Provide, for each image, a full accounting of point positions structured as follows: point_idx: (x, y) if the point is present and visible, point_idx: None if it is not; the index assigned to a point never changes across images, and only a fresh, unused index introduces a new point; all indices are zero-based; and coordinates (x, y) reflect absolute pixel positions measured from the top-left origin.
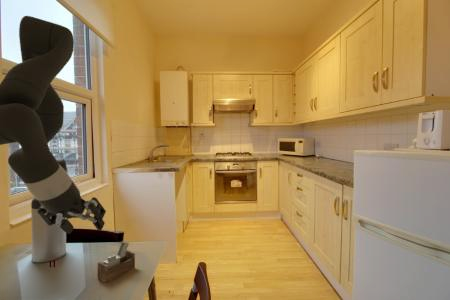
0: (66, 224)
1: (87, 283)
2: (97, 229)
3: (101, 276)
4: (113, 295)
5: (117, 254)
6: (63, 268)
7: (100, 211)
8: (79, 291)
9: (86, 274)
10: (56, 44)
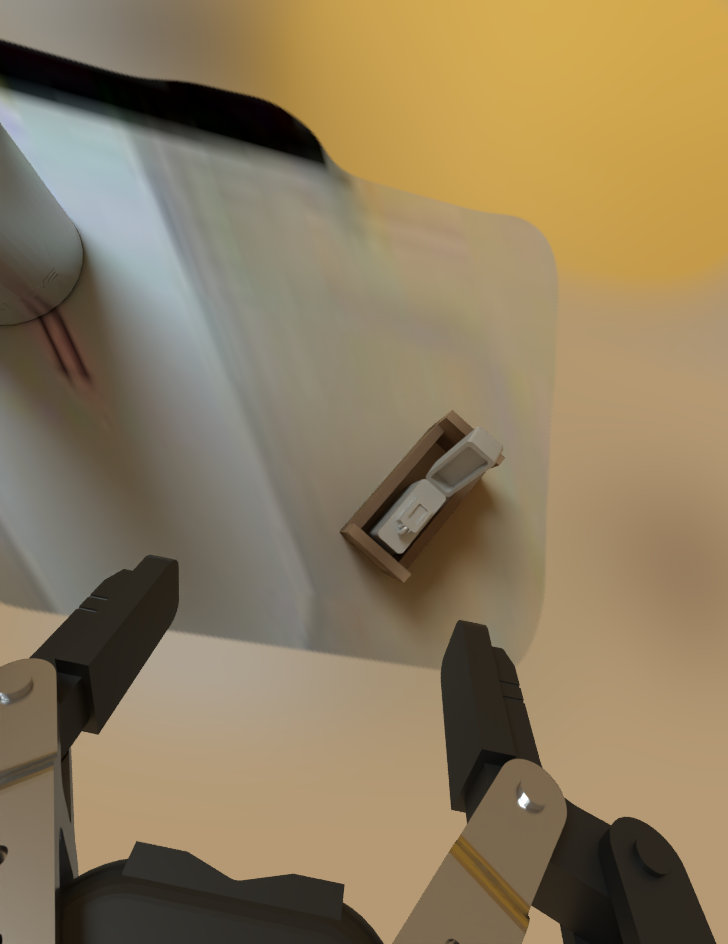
0: (117, 670)
1: (309, 565)
2: (442, 689)
3: (364, 552)
4: None
5: (429, 475)
6: (142, 409)
7: (626, 907)
8: (299, 622)
9: (277, 488)
10: None
